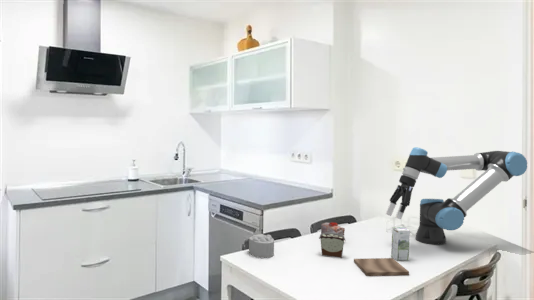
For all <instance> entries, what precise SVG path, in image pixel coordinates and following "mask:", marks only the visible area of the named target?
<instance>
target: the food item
mask: <svg viewBox="0 0 534 300" xmlns="http://www.w3.org/2000/svg"><path fill="white" fill-rule="evenodd" d="M345 230H346V229H345V228H344V227H341V226H339V224H338V223H337V222H333V221H331V222H324V223H323V222H322V223H321V228H320V234H322V233H338V234H342V235H344V236H345Z"/></svg>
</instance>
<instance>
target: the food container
mask: <svg viewBox="0 0 534 300" xmlns="http://www.w3.org/2000/svg"><path fill="white" fill-rule="evenodd" d="M318 239H319V240H320V247H321V248H320V249H321V250H320V251H321V256H323V257H331V258H337V259H342V258H343V251H344V244H345V241H346V238H345V234H344V235H342V234H338V233H322V234H321V233H320V234H319V237H318Z"/></svg>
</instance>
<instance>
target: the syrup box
mask: <svg viewBox="0 0 534 300" xmlns="http://www.w3.org/2000/svg"><path fill="white" fill-rule="evenodd" d="M391 231H392V232H391V252H390V253H391V255H390V256H391V257H390V258H393V259H394V260H395V261H397V262H400V261H401V262H402V261H403V262H404V261H409V258H410V236H411V234H410V233H411V230H410V229H408V227H405V226H395V227H394V226H393V227H392V229H391Z"/></svg>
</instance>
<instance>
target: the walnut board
mask: <svg viewBox="0 0 534 300" xmlns="http://www.w3.org/2000/svg"><path fill="white" fill-rule="evenodd" d="M353 263H354V264H355V265H356V266H357V267H358V269H360V271H361V272H362V273H363V274H364V275H365V276H366V277H380V276H381V277H383V276H385V277H389V276H392V277H393V276H410V271H409V270H408V269H407V268H405V267H404V266H403V265H402V264H400V263H399V261H397V260H395V259H394V258H392V257H387V258H386V257H385V258H384V257H381V258H377V257H375V258H374V257H373V258H353Z"/></svg>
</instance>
